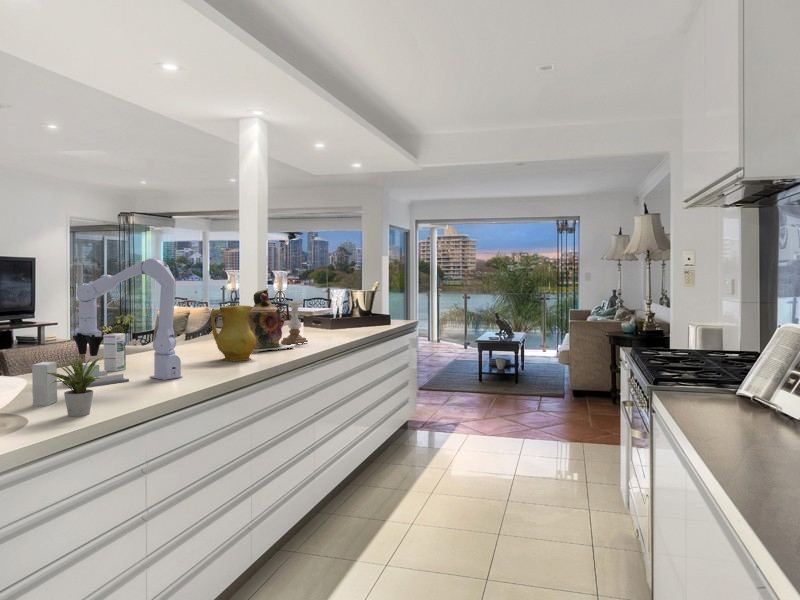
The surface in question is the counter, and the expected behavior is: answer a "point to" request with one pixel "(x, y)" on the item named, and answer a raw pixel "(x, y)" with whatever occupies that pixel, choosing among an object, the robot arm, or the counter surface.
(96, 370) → the block
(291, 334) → the candle holder
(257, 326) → the cookie jar
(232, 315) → the pitcher
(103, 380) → the rail board
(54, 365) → the skincare box
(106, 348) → the syrup box
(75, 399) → the house plant
